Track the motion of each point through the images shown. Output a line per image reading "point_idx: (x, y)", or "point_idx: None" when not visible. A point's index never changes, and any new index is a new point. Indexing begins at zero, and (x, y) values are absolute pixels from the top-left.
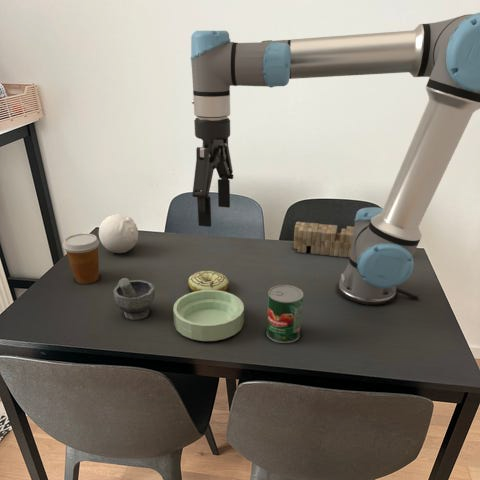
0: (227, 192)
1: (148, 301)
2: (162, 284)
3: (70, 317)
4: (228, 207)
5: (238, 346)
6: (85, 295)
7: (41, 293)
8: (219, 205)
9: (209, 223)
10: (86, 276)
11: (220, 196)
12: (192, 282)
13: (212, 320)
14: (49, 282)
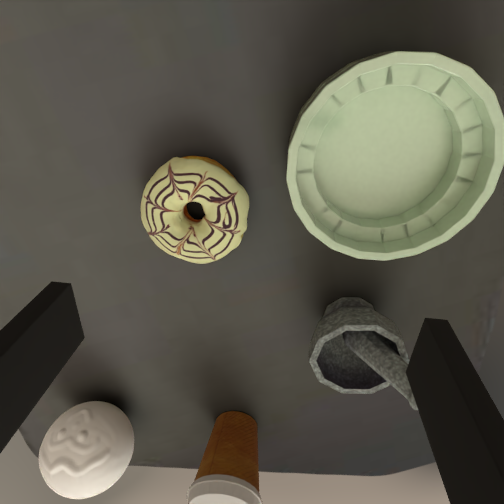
0: (3, 364)
1: (378, 316)
2: (213, 307)
3: (379, 406)
4: (71, 286)
5: (491, 40)
6: (297, 410)
7: (306, 461)
8: (80, 338)
9: (454, 338)
10: (254, 433)
11: (42, 377)
12: (228, 249)
13: (373, 150)
14: (266, 463)
